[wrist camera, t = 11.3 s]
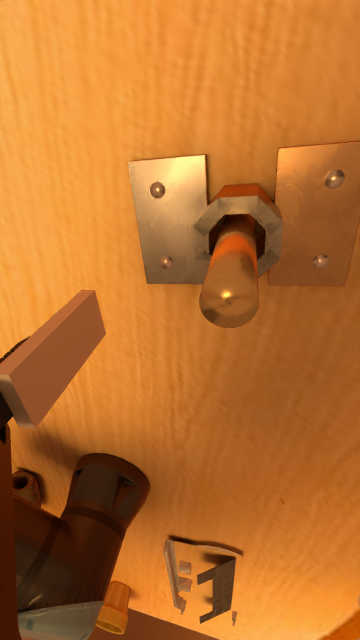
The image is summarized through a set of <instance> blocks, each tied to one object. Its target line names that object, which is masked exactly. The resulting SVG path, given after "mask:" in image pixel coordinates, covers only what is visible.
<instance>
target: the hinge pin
mask: <svg viewBox="0 0 360 640" xmlns="http://www.w3.org/2000/svg"><path fill="white" fill-rule="evenodd" d="M199 304H200V309H201V311H202V313H203V315H204V316H205V317H206V318H207V319H208V320H209V321H210V322H211V323H213V324H215V325H217V326H220V327H225V328H235V327H239V326H242V325H244V324H246V323H248V322H249V321H250V320H251V319H252V318H253V317H254V316H255V314H256V312H257V310H258V305H259V298H258V276H257V254H256V232H255V219H254V218H253V217H252V216H251V215H250V214H249V213H247V214H226V215H225V217H224V220H223V223H222V226H221V230H220V233H219V236H218V239H217V243H216V246H215V249H214V252H213V256H212V259H211V262H210V265H209V269H208V272H207V275H206V278H205V281H204V285H203V288H202V291H201V294H200V299H199Z"/></svg>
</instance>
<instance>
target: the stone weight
mask: <svg viewBox="0 0 360 640" xmlns="http://www.w3.org/2000/svg"><path fill="white" fill-rule="evenodd" d="M12 489H13V493H15V494H17V495H18V496H20V497H22V498H24V499H26V500H27V501H29V502H31V503H33V504H35V505H36V506H38V507H40V508H41V498H40V491H39V486H38V483H37V480H36V478H35V477H34V476H33V475H32V474H30V473H28V472H23V471H17V472H15V473H14V474H12Z"/></svg>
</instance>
